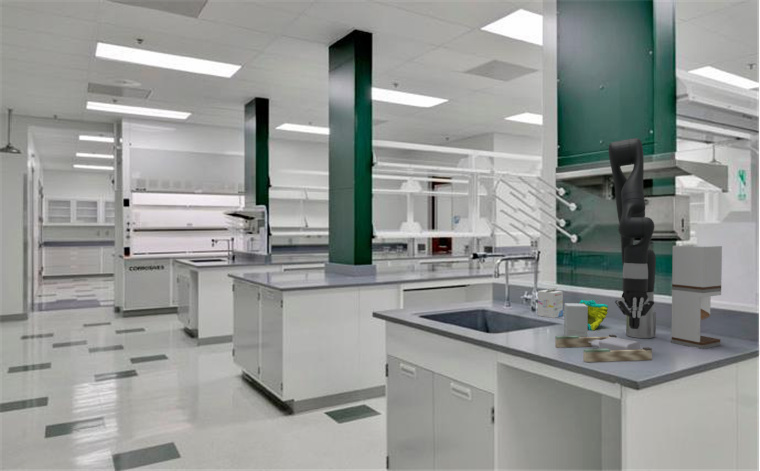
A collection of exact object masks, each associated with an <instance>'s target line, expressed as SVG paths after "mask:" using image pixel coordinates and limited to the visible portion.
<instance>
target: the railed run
mask: <svg viewBox="0 0 760 471" xmlns="http://www.w3.org/2000/svg"><path fill="white" fill-rule="evenodd" d="M610 337H615V338H618V336H617V335H615V334H608V336H587V337H579V336H564V335H558V336H555V338H554V340H555V341H554V342H555V344H554V346H555V348H558V349H559V348H561V349H562V348H582V347H583V352H582V353H583V356H582V357H583V362H585V363H596V362H597V363H600V362H603V363H604V362H627V361H628V362H629V361H652V359H653V357H652V356H653V355H652V354H653V353H652V352H653V348H651V347H648V346H647V347H642V349H641V348H640V349H639V350H610V349H599V348H594V347H593V346H592V345H591V343H588V341H589V342H591V341H594V340H597V339H598V340H603V339H606V338H610ZM585 347H586V348H585ZM587 347H590V348H587ZM592 347H593V348H592ZM584 348H585V349H584Z"/></svg>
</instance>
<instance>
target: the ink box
mask: <svg viewBox="0 0 760 471" xmlns="http://www.w3.org/2000/svg"><path fill="white" fill-rule="evenodd" d="M557 289H558V287H557V286H556V287H552V288H547V289H543V290H538V291H537V316H538V317H546V318H552V319H555V318H558V317H564V307H563V306H564V304H563V303H564V302H563V301H564V292H563V290H557Z"/></svg>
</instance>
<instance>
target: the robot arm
mask: <svg viewBox="0 0 760 471" xmlns="http://www.w3.org/2000/svg"><path fill="white" fill-rule="evenodd" d="M608 158H609V163H610V169H611V174H612V178H613V184H614V193H615V203H616V212H617V218H618V233H619V235H620V244H621V261H622V262H621V263H622V264H621V265H622V267H623V268H622V294H621V297H620V298H619V299H615V301H614V302H615V304H616V306H617V307H618V309H619V310H620V311H621V313H622V314H623V315H625V316H626V317H625V319H626V320H625V321H626V323H625V324H626V325H625V336H627V337H632V338H636V339H637V338H638V339H651V338H656V336H657V331H656V329H657V312H656V311H655V310H654V306H655V305H654V304H655V301H654V296H655V295H654V293H655V292H654V291H655V282H656V281H655V280H656V266H657V265H656V264H657V261H656V260H657V259H656V258H657V257H656V254H655V251H654V250H652V249H650V243H651V240H652V237H653V234H654V232H655V222H654V220H653V219H652V218H651V217H648V216H647V217H646V201H645V192H644V175H645V174H644V173H645V172H644V166H645V165H644V149H643V143H642V141H641V139H640V138H637V137H636V138H634V137H633V138H628V139H622V140H617V141H612V142H610V143H609V144H608ZM631 165H633V168H632V170H631V173H630V174H629V176H628V178H627V177H626V176H625V174H624V173H623V171H622V168H621V167H623V166H631ZM635 239H640V240H639V242H637V243H635V244H634V240H635Z"/></svg>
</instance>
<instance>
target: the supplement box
mask: <svg viewBox="0 0 760 471" xmlns="http://www.w3.org/2000/svg"><path fill="white" fill-rule="evenodd" d="M563 303H564V304H563V306H564V307H563V336H579V337H588V333H589V332H588V331H589V329H588V306H586V305H585V304H578V303H579V302H578V303H577V302H575V303H574V302H573V303H572V302H571V303H570V302H566V303H565V302H563Z"/></svg>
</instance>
